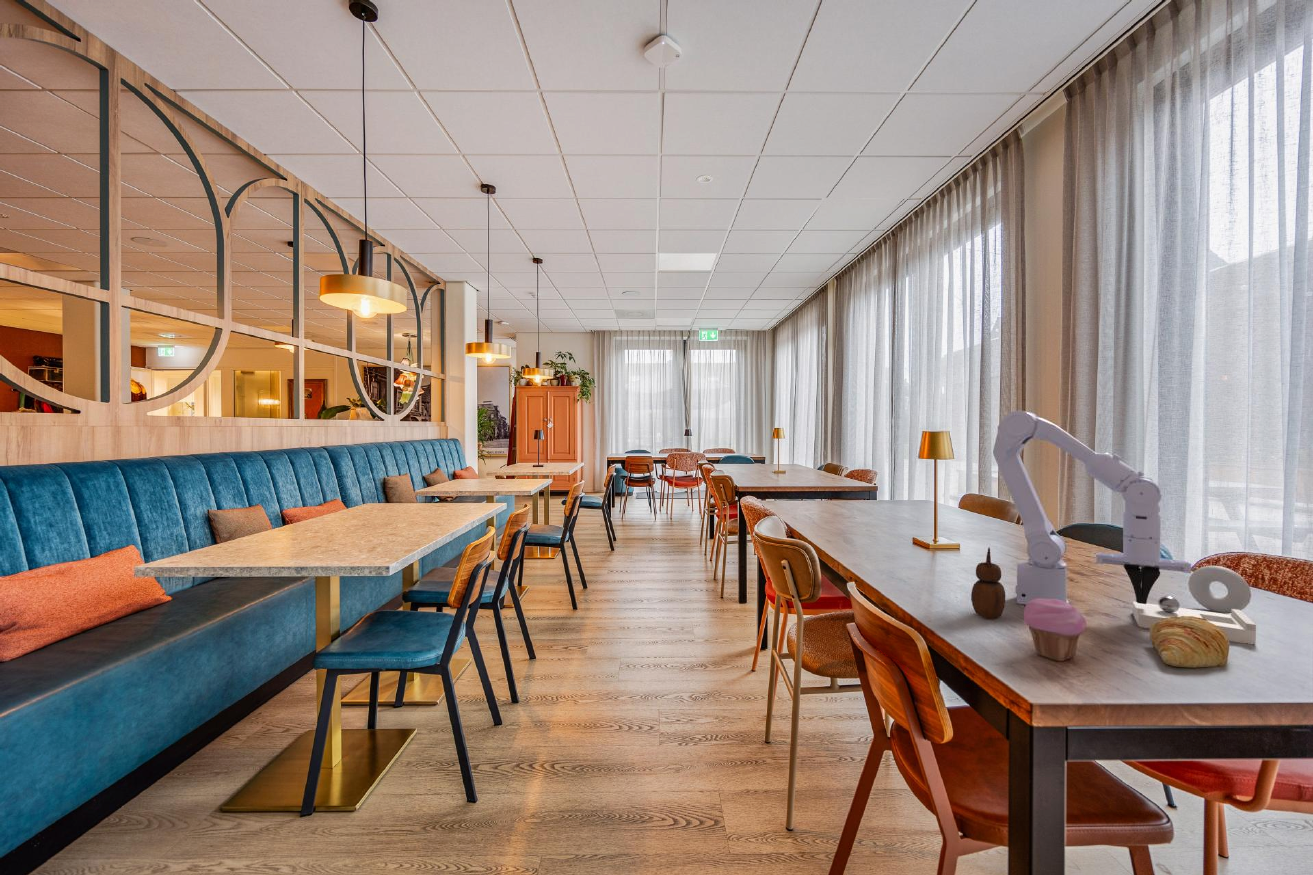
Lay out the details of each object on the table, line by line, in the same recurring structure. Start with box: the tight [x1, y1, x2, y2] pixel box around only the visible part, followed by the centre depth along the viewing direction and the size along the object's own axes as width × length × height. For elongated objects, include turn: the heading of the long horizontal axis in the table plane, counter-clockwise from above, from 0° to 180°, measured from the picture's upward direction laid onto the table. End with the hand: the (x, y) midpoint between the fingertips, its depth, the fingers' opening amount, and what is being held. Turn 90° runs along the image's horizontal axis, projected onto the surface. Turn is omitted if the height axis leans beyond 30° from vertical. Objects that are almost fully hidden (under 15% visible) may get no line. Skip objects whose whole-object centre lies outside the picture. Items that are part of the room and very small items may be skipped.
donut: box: [1187, 565, 1252, 615], centre depth 117 cm, size 10×4×10 cm, turn 20°
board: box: [1132, 601, 1257, 646], centre depth 108 cm, size 16×10×4 cm, turn 54°
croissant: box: [1148, 616, 1230, 668], centre depth 95 cm, size 21×10×8 cm, turn 124°
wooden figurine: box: [970, 547, 1006, 620], centre depth 115 cm, size 7×6×15 cm
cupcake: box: [1023, 598, 1087, 662], centre depth 95 cm, size 9×9×10 cm
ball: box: [1157, 595, 1181, 613], centre depth 110 cm, size 3×3×3 cm
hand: (1141, 602), depth 112 cm, fingers closed
